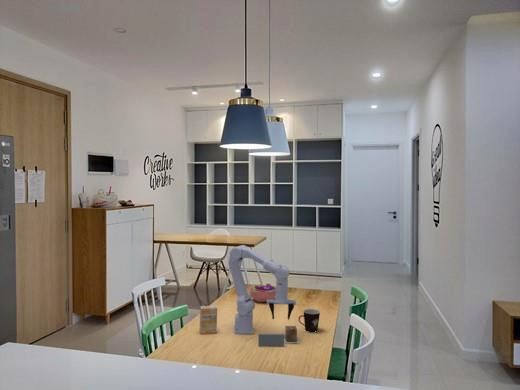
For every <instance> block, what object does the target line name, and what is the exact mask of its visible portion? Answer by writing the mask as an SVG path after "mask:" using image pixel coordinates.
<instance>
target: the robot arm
mask: <svg viewBox="0 0 520 390" xmlns="http://www.w3.org/2000/svg"><path fill="white" fill-rule="evenodd" d="M228 259H229V260H228V266H229V267H228V268H229V270H230V274H231V278H232V282H233V285H234V288H235V291H236V295H237V300H236V311H237V313H235V314H234V325H233V329H234V334H236V335H237V334H241V335H242V334H243V335H253V334H254V327H253V326H254V323H253V322H254V321H253V320H254V318H253V317H254V313H253V311H254V310H255V308H256V303H255V302H254V301H255V300H254V299H253V298H252V297H251V295H250V293H248V292H249V291H248V290H247V286H246V282H245V279H244V276H243V272H242V268H241V263H242V261H243V260H244V259H251V260H253V261H254V262H255V263H256V262H257V264H260V265H261V266H262V268H263V270H265V271H267V272H269V273H270V274H272V275H274V277H275V279H276V280H275V281H276V285H275V287H276V296H275V298H273V299H267V302H266V305H268V307H269V309H270V312H271V317H272V319H271V320H275V305H287V321H288V320H290V318H291V316H292V315H291V314H292V312H293V310H294V309H295V308H294V307H295V306H296V305H297V300H295V299H288V292H289V291H288V290H289V289H288V287H289V286H288V284H289V282H288V281H289V280H288V278H289V276H290V273H291V272H290V270H289V268H288V267H287V266H285V265H282V264H280V263H277V262H276V261H275V260H274V259H273V258H268V259H266V258H265V257H263V256H262V255H260V254H259V253H257V252H256V251H254V250H253V249H252V248H250V247H249V246H247V245H245V244H240V245H239V246H234V247H232V248H231V249H230V251H229V257H228Z"/></svg>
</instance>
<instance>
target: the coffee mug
mask: <svg viewBox="0 0 520 390" xmlns="http://www.w3.org/2000/svg"><path fill="white" fill-rule="evenodd" d="M320 314H321V311H320V310H318V309H314V308H308V309H303V315H299V317H298V322H299V323H300V324H301V325H303V326H304V331H305V330H306V331H309V332H315V331H317V330H319V329H318V328H319V323H320ZM301 317H303V321H304V323H303V322H301V320H300V319H301ZM306 331H305V332H306ZM309 332H308V333H309ZM317 332H318V331H317ZM315 333H316V332H315Z"/></svg>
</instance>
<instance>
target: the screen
mask: <svg viewBox="0 0 520 390" xmlns="http://www.w3.org/2000/svg"><path fill="white" fill-rule="evenodd" d="M284 337H285V333H258V345H257V346H258V347H285V344H284Z"/></svg>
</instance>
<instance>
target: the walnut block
mask: <svg viewBox="0 0 520 390" xmlns="http://www.w3.org/2000/svg"><path fill="white" fill-rule="evenodd" d="M297 336H298V328H297V326H296V325H285V333H284V337H285V339H286V342H297V338H298V337H297Z"/></svg>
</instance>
